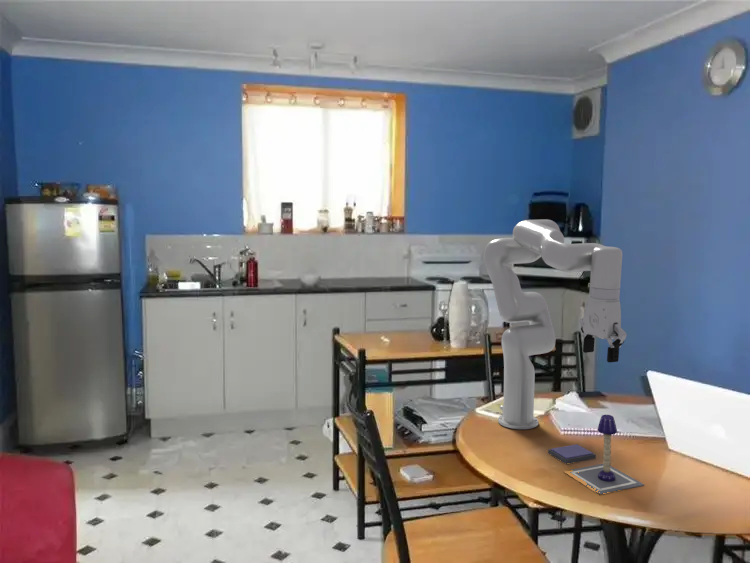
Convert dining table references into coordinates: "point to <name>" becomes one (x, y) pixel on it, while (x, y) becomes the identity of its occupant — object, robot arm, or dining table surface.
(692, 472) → the dining table surface
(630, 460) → the dining table surface
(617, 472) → the marked board
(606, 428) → the toy lamp
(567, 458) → the ink pad
